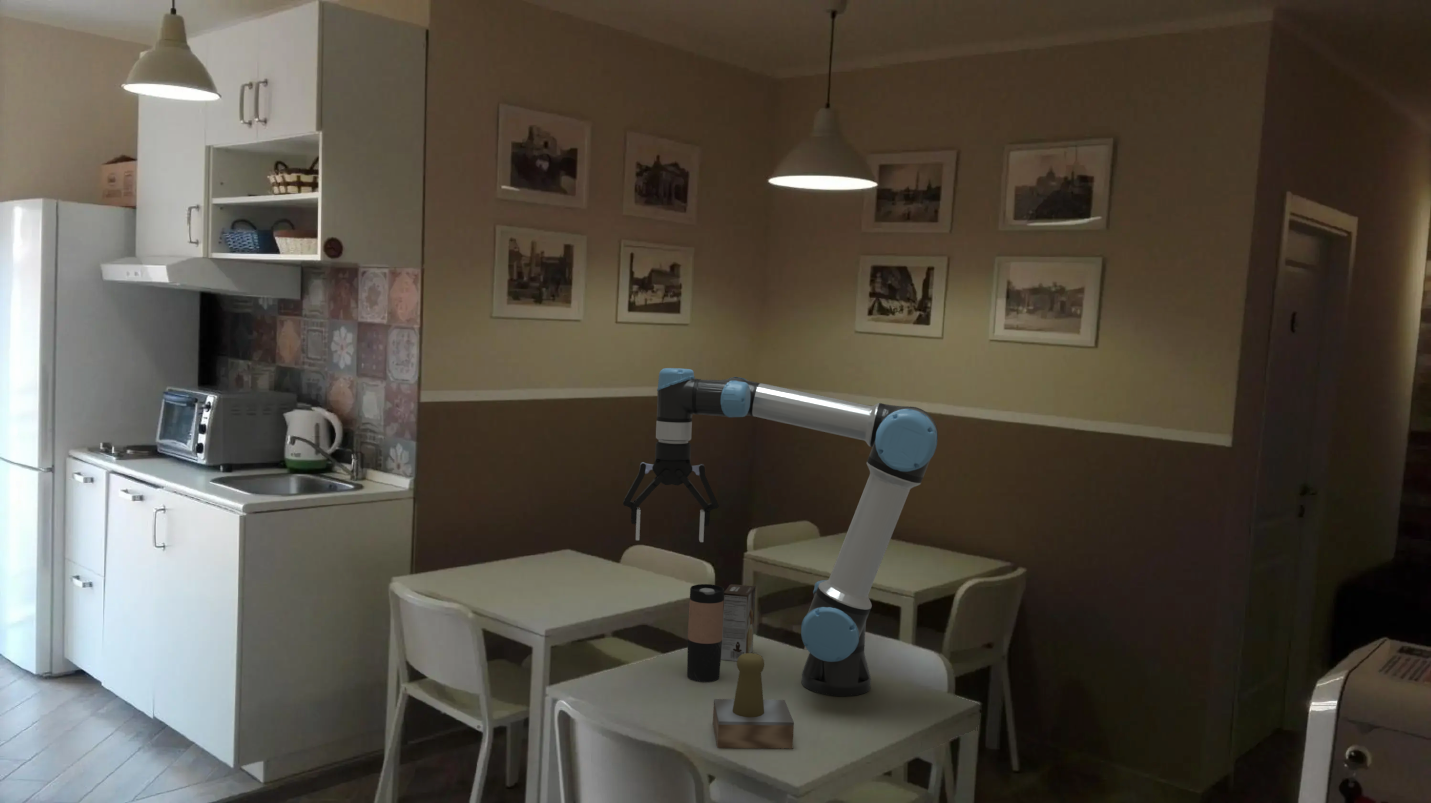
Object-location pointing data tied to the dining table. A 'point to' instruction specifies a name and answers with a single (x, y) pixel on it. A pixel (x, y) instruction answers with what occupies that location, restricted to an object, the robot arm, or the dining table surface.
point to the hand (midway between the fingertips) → (669, 540)
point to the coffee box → (738, 621)
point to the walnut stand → (753, 726)
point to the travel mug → (705, 632)
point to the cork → (749, 686)
